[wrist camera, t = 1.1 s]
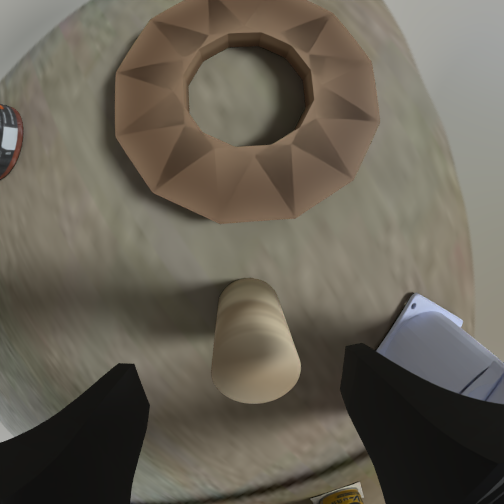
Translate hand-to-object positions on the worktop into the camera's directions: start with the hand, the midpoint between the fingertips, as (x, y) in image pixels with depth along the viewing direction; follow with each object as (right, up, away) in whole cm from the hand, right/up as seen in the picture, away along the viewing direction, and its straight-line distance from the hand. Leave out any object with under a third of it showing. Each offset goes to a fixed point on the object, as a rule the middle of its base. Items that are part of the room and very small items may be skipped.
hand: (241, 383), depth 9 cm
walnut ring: (0, +14, +6) cm, 15 cm away
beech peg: (0, +1, +10) cm, 10 cm away
